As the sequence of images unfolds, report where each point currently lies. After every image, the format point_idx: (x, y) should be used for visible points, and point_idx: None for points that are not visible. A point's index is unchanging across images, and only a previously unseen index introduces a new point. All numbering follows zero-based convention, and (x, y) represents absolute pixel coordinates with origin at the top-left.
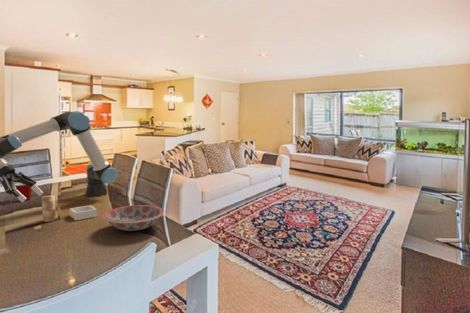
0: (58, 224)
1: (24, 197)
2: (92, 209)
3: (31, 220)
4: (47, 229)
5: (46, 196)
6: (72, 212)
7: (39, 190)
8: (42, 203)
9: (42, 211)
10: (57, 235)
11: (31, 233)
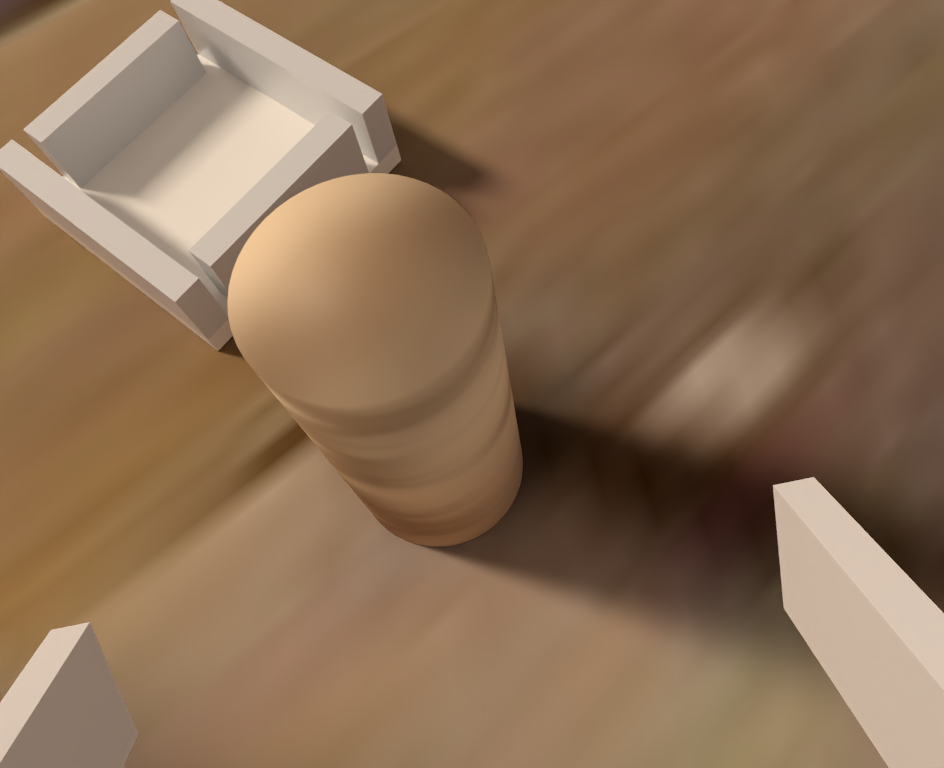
0: (576, 227)
1: (829, 504)
2: (143, 74)
3: (520, 713)
4: (763, 214)
5: (355, 324)
6: None
7: (46, 714)
8: (491, 384)
9: (493, 464)
10: (867, 9)
11: (941, 274)
